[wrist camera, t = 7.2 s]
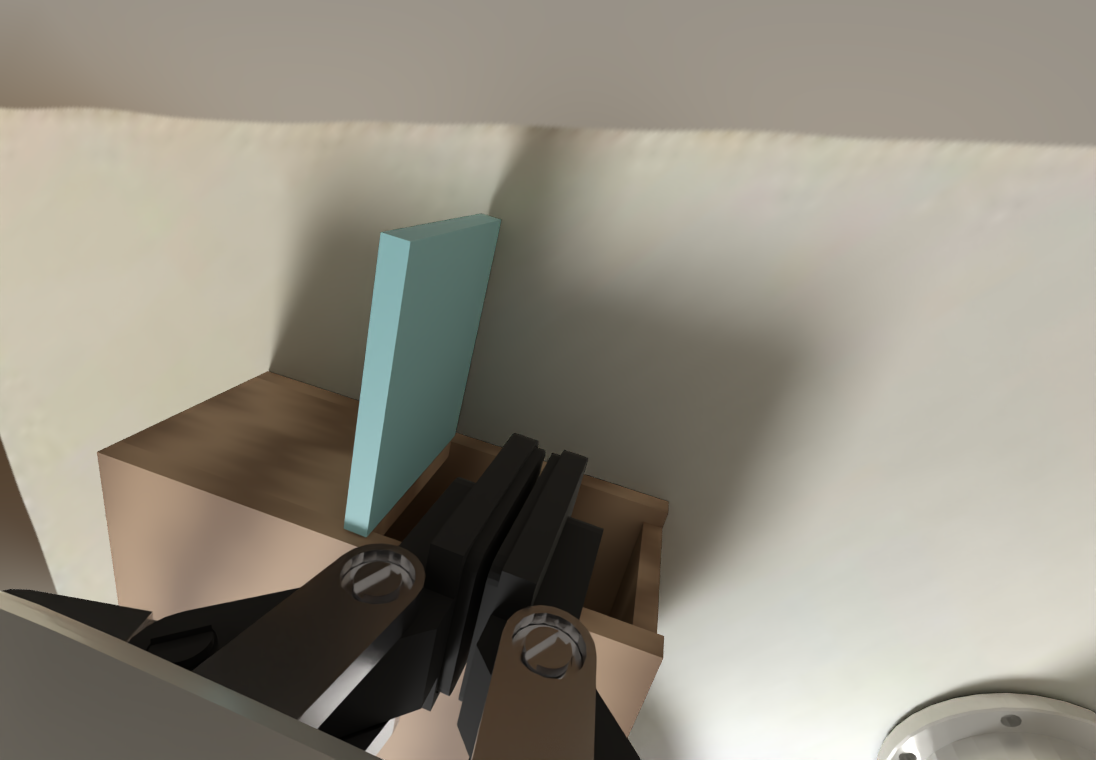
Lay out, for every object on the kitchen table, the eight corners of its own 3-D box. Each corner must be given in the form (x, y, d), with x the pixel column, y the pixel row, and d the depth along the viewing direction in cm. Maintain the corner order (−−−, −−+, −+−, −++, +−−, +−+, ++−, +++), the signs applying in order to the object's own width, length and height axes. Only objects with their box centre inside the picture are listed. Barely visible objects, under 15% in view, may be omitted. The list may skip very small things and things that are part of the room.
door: (457, 206, 25) (345, 221, 16) (501, 219, 24) (410, 241, 16) (418, 422, 29) (316, 517, 21) (455, 435, 29) (366, 537, 21)
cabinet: (668, 501, 28) (663, 658, 19) (608, 657, 33) (580, 841, 24) (267, 371, 31) (96, 452, 22) (266, 530, 36) (125, 651, 27)
